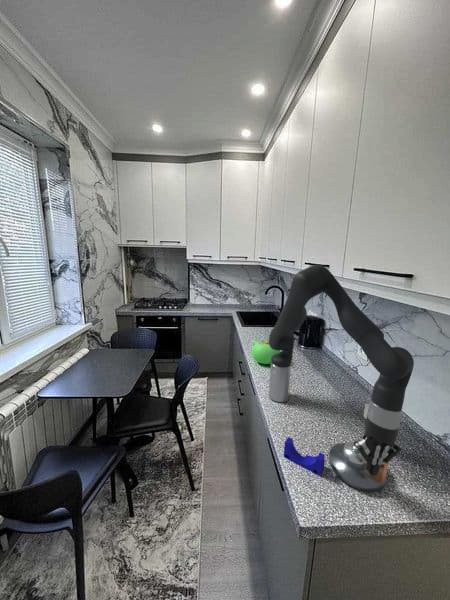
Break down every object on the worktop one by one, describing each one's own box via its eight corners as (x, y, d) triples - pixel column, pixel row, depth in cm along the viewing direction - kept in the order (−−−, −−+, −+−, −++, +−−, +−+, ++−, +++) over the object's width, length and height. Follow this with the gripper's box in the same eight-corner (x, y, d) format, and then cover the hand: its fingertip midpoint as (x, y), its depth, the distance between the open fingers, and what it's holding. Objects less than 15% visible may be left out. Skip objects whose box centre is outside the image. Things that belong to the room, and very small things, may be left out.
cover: (338, 457, 80) (339, 443, 79) (351, 449, 83) (352, 435, 82) (359, 474, 74) (361, 459, 73) (372, 464, 77) (374, 450, 76)
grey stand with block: (358, 442, 91) (364, 402, 88) (371, 441, 91) (377, 402, 88) (368, 455, 85) (375, 413, 82) (382, 454, 85) (389, 413, 83)
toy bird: (253, 368, 148) (254, 344, 146) (249, 356, 165) (250, 335, 162) (282, 368, 149) (284, 345, 146) (276, 356, 166) (277, 336, 163)
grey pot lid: (318, 459, 81) (320, 437, 80) (348, 441, 89) (350, 422, 88) (366, 501, 68) (370, 476, 66) (396, 476, 76) (400, 453, 74)
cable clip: (324, 468, 80) (326, 451, 79) (319, 477, 76) (321, 460, 75) (289, 449, 87) (290, 434, 86) (283, 457, 83) (284, 441, 82)
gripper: (368, 428, 63) (357, 484, 66) (417, 428, 64) (403, 485, 67) (351, 409, 71) (342, 461, 74) (395, 410, 72) (384, 462, 75)
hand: (371, 472), depth 71 cm, fingers closed
